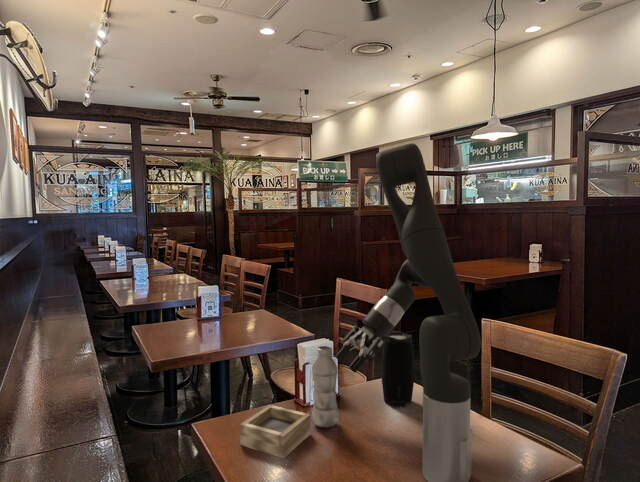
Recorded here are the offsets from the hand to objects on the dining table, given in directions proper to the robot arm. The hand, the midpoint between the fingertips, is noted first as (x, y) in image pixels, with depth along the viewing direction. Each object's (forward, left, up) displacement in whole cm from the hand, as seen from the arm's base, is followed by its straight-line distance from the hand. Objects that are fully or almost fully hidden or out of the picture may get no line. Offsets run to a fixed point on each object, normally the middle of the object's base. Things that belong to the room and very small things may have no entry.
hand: (344, 364), depth 112 cm
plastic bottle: (+4, +4, -15) cm, 16 cm away
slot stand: (+11, +16, -15) cm, 24 cm away
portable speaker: (-8, -18, -15) cm, 25 cm away
